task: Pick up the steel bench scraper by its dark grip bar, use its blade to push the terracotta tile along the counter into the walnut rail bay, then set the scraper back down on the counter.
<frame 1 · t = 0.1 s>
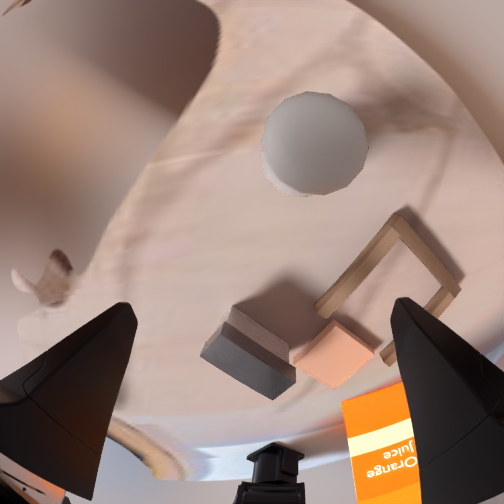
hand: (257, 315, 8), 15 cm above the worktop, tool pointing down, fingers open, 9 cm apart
salt shaker: (297, 160, 22), on the worktop
orange juice: (375, 407, 28), on the worktop
tile: (332, 350, 26), on the worktop
bay: (388, 298, 24), on the worktop
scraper: (255, 332, 26), on the worktop
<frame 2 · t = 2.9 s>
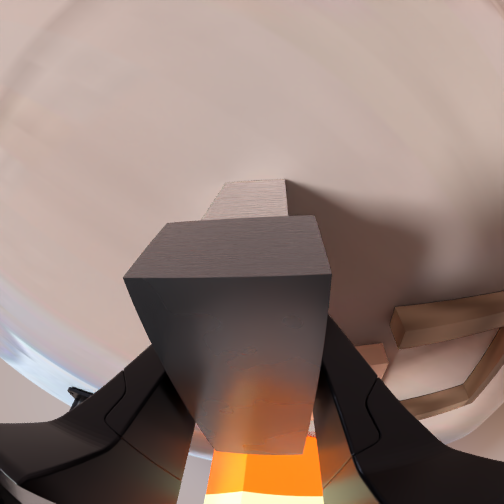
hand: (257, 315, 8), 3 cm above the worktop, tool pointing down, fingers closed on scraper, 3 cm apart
orange juice: (272, 443, 21), on the worktop
tile: (322, 373, 15), on the worktop
bay: (438, 363, 13), on the worktop
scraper: (262, 268, 11), on the worktop, touching gripper
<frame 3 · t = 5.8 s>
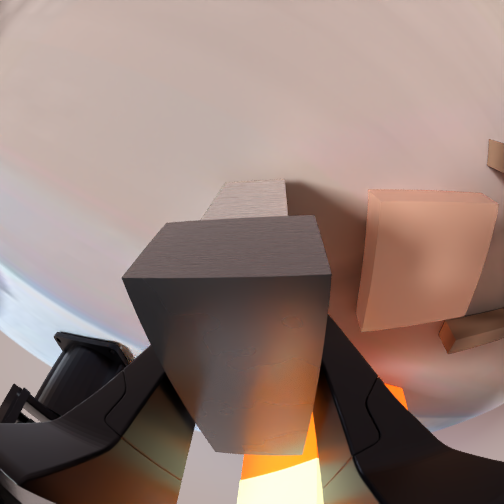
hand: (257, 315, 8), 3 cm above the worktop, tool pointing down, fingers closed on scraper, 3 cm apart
orange juice: (327, 400, 17), on the worktop
tile: (419, 249, 11), on the worktop
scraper: (262, 268, 11), point 1 cm above the worktop, touching gripper
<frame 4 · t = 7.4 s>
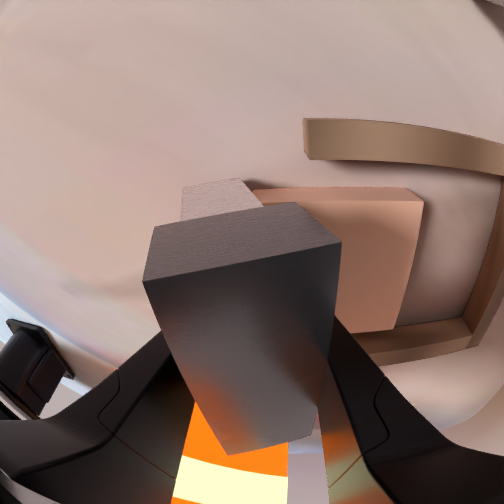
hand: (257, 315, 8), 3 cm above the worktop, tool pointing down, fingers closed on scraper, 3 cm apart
orange juice: (211, 399, 18), on the worktop
tile: (330, 254, 11), on the worktop
bay: (414, 255, 10), on the worktop
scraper: (224, 268, 11), point 1 cm above the worktop, tilted 18°, touching gripper
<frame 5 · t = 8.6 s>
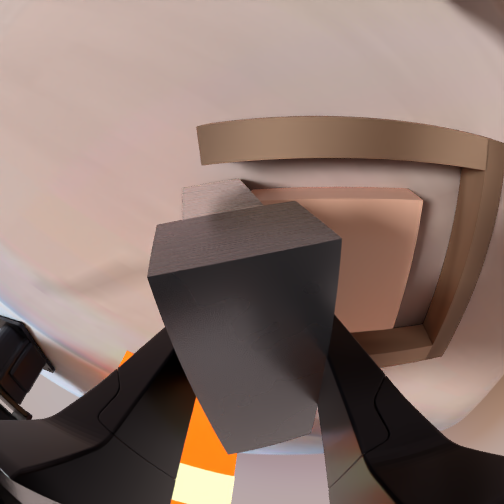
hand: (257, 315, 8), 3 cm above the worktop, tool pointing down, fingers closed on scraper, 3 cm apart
orange juice: (173, 395, 18), on the worktop
tile: (330, 252, 11), on the worktop
bay: (350, 258, 11), on the worktop
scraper: (223, 268, 11), on the worktop, tilted 19°, touching gripper
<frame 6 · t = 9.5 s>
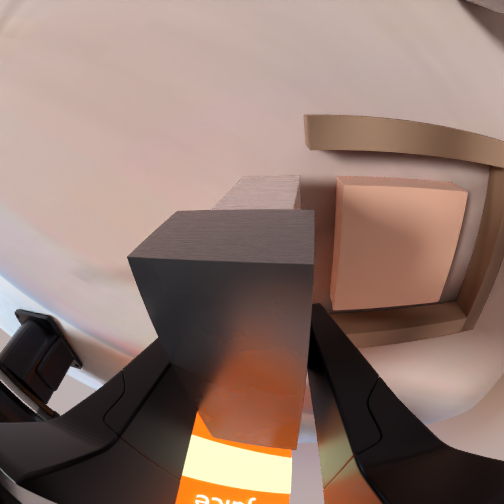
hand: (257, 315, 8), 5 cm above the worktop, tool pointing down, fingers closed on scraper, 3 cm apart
orange juice: (217, 384, 19), on the worktop
tile: (390, 235, 12), on the worktop
bay: (407, 239, 11), on the worktop
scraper: (276, 262, 11), point 2 cm above the worktop, tilted 7°, touching gripper
when the fingers open (3 cm above the worktop, at t = 12.1 s): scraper stays where it is, on the worktop.
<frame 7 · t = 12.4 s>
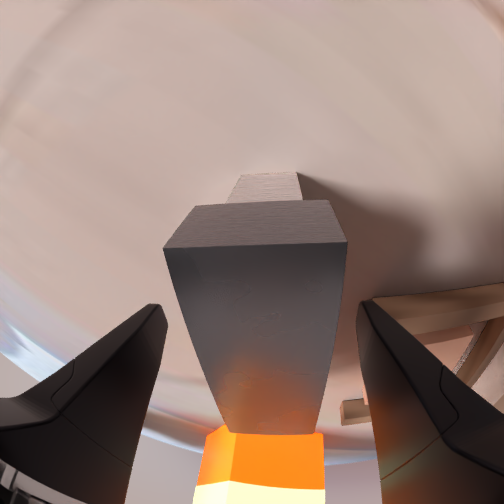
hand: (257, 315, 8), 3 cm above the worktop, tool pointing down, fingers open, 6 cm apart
orange juice: (262, 436, 21), on the worktop
tile: (411, 353, 14), on the worktop
bay: (423, 357, 14), on the worktop
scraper: (274, 256, 11), on the worktop
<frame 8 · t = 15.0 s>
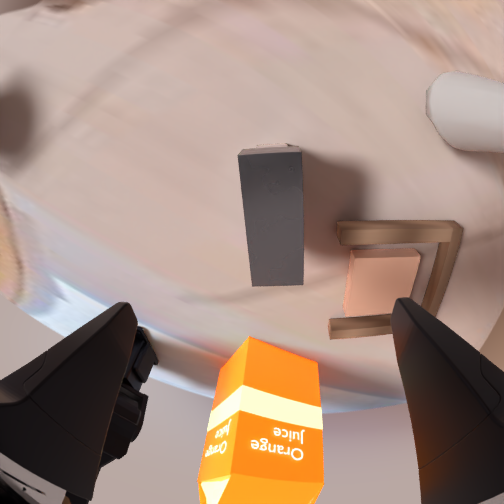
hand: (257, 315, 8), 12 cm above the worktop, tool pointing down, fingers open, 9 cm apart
salt shaker: (443, 108, 14), on the worktop
orange juice: (267, 366, 29), on the worktop
tile: (377, 276, 22), on the worktop
bay: (386, 278, 22), on the worktop
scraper: (275, 191, 19), on the worktop
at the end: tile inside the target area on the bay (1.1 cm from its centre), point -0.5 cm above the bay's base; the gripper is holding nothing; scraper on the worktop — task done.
